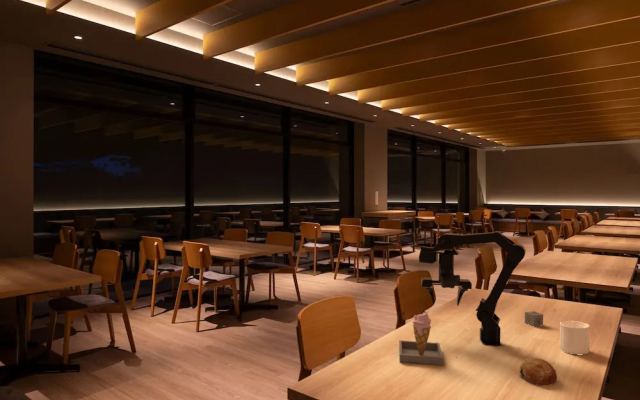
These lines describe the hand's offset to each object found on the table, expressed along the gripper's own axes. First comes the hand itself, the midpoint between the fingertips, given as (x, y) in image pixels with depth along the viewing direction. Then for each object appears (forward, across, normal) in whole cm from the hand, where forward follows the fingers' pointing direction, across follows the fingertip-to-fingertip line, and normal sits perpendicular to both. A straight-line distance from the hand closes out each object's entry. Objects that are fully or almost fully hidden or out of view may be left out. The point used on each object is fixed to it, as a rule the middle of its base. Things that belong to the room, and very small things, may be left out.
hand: (445, 304), depth 170 cm
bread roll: (+12, +24, -35) cm, 44 cm away
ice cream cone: (+12, -11, -24) cm, 29 cm away
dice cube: (+12, +39, +22) cm, 47 cm away
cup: (+12, +44, -8) cm, 46 cm away
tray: (+12, -11, -24) cm, 29 cm away
